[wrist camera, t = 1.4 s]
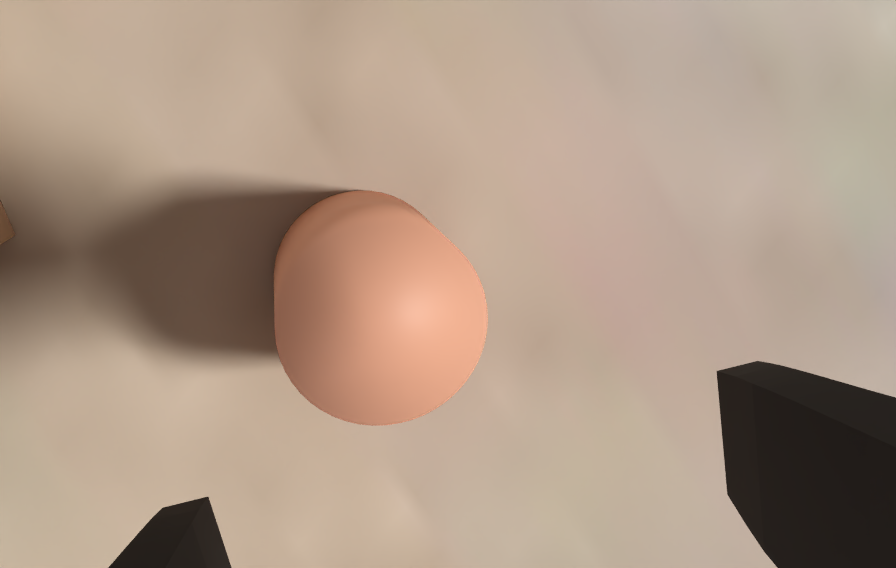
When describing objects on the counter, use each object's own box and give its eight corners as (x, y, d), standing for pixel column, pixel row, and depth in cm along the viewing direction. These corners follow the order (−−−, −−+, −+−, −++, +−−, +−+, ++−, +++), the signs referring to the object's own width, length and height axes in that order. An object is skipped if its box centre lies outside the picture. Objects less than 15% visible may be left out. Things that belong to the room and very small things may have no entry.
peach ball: (304, 379, 22) (312, 453, 18) (249, 219, 21) (244, 257, 17) (464, 327, 23) (508, 387, 18) (420, 169, 21) (458, 193, 17)
